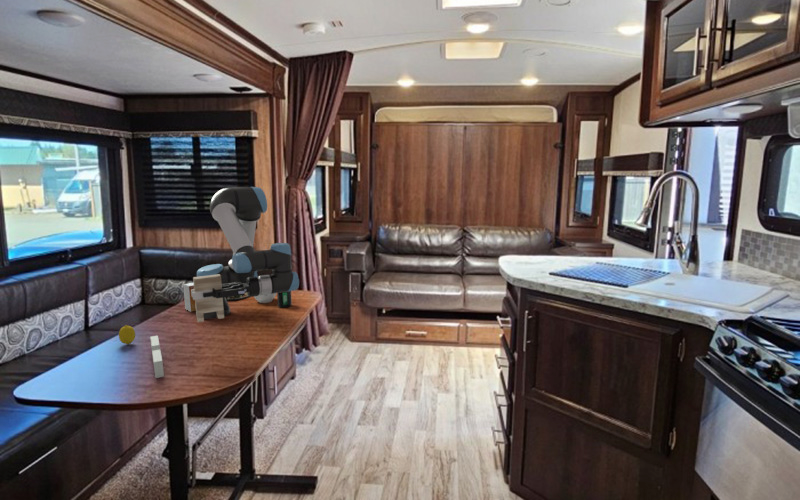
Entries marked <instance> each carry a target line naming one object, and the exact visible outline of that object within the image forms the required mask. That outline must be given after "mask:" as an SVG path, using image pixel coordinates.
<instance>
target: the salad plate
mask: <svg viewBox="0 0 800 500" xmlns="http://www.w3.org/2000/svg"><path fill="white" fill-rule="evenodd" d="M225 298H226V300H227V302H236V301H240V300H244V299H247V298H250V297H249V296H248V294H247V293H245V295H244V296H232V297H225Z"/></svg>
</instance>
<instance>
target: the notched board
mask: <svg viewBox="0 0 800 500" xmlns="http://www.w3.org/2000/svg"><path fill="white" fill-rule="evenodd" d="M149 338H150V345H151V346H150V347H151V354H152V362H153V370H154V377H155V379H158V378H163V377H165V372H164V364H163V363H164V362H163V357H162V351H161V347H160V345H161V344H160V341H159V339H160V338H159V335H152V336H150V337H149Z"/></svg>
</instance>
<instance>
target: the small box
mask: <svg viewBox="0 0 800 500" xmlns="http://www.w3.org/2000/svg"><path fill="white" fill-rule="evenodd" d="M182 285H183V286H182V287H183V298H184V299H183V301H184V308H185V309H186V310H185V309H184V310H185V311H187V310H188V312H191V313H192V312H196V305H195V300H193V297H192V296H191V290H192V289H194V283H193V282H189V283H183V284H182Z"/></svg>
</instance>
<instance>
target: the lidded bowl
mask: <svg viewBox="0 0 800 500" xmlns="http://www.w3.org/2000/svg"><path fill="white" fill-rule="evenodd" d="M253 297H254V299H255V300H256V301H257V303H259V304H268V303H271V302H273V300H274V299H275V297H277V293H273V294H268V295H267V296H265V295H260V294H259V295H258V296H253Z"/></svg>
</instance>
